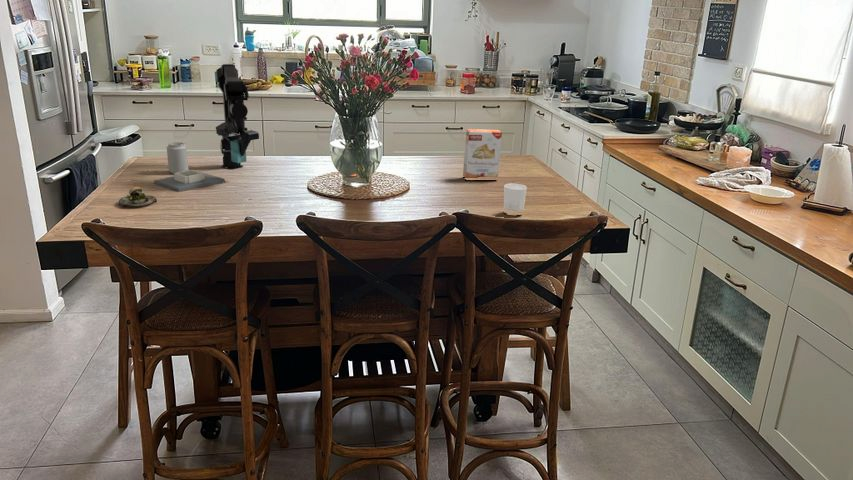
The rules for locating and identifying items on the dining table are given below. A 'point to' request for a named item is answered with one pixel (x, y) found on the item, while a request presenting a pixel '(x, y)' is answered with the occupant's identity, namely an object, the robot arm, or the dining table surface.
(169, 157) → the can
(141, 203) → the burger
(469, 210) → the dining table surface
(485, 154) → the cracker box
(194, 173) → the holder
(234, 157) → the peg
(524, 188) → the white cup
